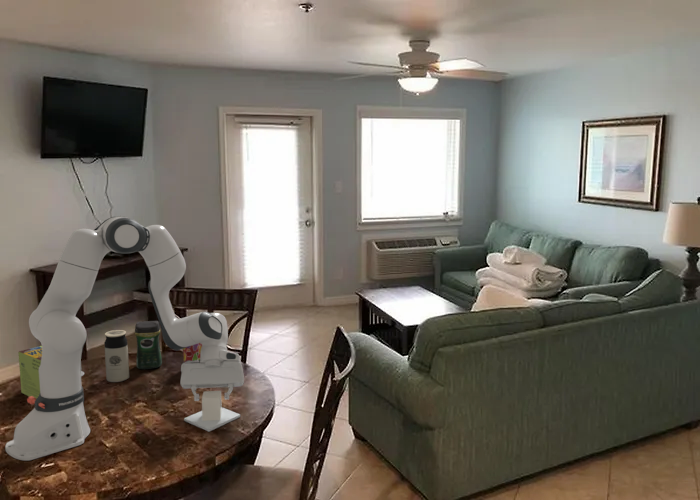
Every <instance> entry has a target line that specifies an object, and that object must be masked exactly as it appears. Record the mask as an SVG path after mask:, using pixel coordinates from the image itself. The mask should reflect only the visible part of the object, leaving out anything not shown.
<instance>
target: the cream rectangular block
mask: <svg viewBox="0 0 700 500" xmlns="http://www.w3.org/2000/svg"><path fill="white" fill-rule="evenodd" d="M222 403H223V402H222V390H210V391H209V390H207V391H203V393H202V396H201V411H202V421H210V420H221V414H222V405H223V404H222Z"/></svg>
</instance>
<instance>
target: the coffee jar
mask: <svg viewBox="0 0 700 500" xmlns="http://www.w3.org/2000/svg"><path fill="white" fill-rule="evenodd" d="M160 334H161V326H160V323H159V320H149V321H148V320H147V321H137V322H136V324H135V327H134V336H135V338H136V368H137V369H139V370H149V369H150V370H151V369H157V368H159V367H161V366H162V364H163V360H162V359H163V357H162V352H161V347H160V345H161V344H160Z"/></svg>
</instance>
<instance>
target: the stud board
mask: <svg viewBox="0 0 700 500" xmlns="http://www.w3.org/2000/svg"><path fill="white" fill-rule="evenodd" d="M239 418H241V414H240V413H238V412H235V411H233V410H230V409H227V408H225V407H222V414H221V420H210V421H202V410H200V411H198V412H196V413H193V414H190V415H189V416H187V417H184V419H183V421H184V422H186V423H189V424H191V425H193V426H195V427H197V428H199V429H202V430H205V431H207V432H211V431H214V430H215V429H218V428H220V427H222V426H224V425H226V424H228V423H230V422H233V421H235V420H237V419H239Z"/></svg>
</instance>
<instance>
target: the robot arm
mask: <svg viewBox="0 0 700 500" xmlns="http://www.w3.org/2000/svg"><path fill="white" fill-rule="evenodd" d="M109 252H114V253H117V254H124V255H125V254H133V253H139V254H140V255H141V256H142V258H143V260H144V262H145V264H146V266H147V268H148V271H149V274H150V275H149V276H150V279H149V281H148V292H149V295H150V296H149V297H150V299H151V302H152V304H153V305H152V306H153V307H154V311H155V314H156V317H157V321H158V322H159V325H160V331H161V336H162V340H163V342H164V344H165V345H166V346H167V347H168V348H170V349H172V350H173V351H181V350H183V349H184V348H186V347H188V346H191V345H195V344H198V343H200V344H202V348H201V353H200V360H193V361H190V360H188V361H186V362H184V361H183V362H182V363H181V365H180V372H181V374H180V387H182V389H186V390H187V389H188V390H189V389H191V392H192V394H193V399H194V400H193V401H195V402H196V401H197V402H199V401H200V393H197V392H196V391H197V389H204V388H205V389H207V388H208V389H210V388H211V389H212V388H228V390H227V392H224V395H223V396H224V397H223V398H224V400H230V395H231V394H232V392H233V390H234V387H242V386H244V384H245V377H244V375H245V374H244V369H243V365H242V363H241V356H240V355H239V354H238V353H235V352H232V351H228V346H227V345H228V339H229V334H228V333H229V328H228V321H227V318H226V317H225V316H224V315H223V314H221V313H220V312H208V311H200V312H198V313H193V314H191V315H188V316H185V317H181V318H178V317H177V316H176V315H175V311H174V308H173V305H172V303H171V300H170V295H169V294H170V290H171V289H172V288H173V287H174V286H176V284H178V283H179V282H180V281H181V280H182V278H183V277H184V276H185V273H186V271H187V270H186V269H187V264H186V259H185V257H184V256H183V254H182V251H181V250H180V248H179V245H178V244H177V242H176V241H175V239H174V238H173V236H172V235H171V233H170V232H169V231H168V229H166V227H164V226H163V225H161V224H152V225H147V226H146V227H145V226H143V224H141V223H139V222H138V221H137V220H135V219H132V218H130V217H127V216H121V215H120V216H119V215H118V216H111V217H109V218H107V219H105V220H104V221H102V222H101V223H100V224H99V225H98V226H97V227H95V228H94V229H90V228H80V229H79V228H78V229H75V230H74V231H73V232H72V234H71V235H70V237H69V238H68V240H67V241H66V243H65V245H64V247H63V250H62V251H61V254H60V257H59V260H58V263H57V265H56V268H55V271H54V273H53V275H52V276H53V277H52V279H51V282H50V285H49V286H48V289H47V290H46V291H45V294H44V295H43V297H42V299H41V300H40V302H39V303H38V306H37V307H36V309H34V310H33V311H32V313H31V314H30V316H29V319H28V326H29V330H30V333H31V334H32V336H33V337H34V339H35V338H36V340H38V341H39V342H40V344H41V345H40V346H42V359H41V365H40V367H39V382H40V394H39V396H38V398H37V399H36V398H34V397H33V396H30V397H29V396H28V398H26V401H27V403H28V404H30V405H34V407H33V409H31V411H30V412H29V413H28V414H27V415H26V416H25V417H24V418H22V419H21V421H20V422H18V423H17V424H16V426H15V428H14V432H13V439H12V440H9V441H7V442H6V444H5V447H4V449H5V453H7V455H8V456H10V457H12V458H14V459H16V460H20V461H25V462H27V461H32V460H33V461H34V460H36V459H39V458H43V457H46V456H49V455H52V454H54V453H58V452H61V451H65V450H69V449H71V448H75V447H79V446H81V445H82V444H83V445H84V444H85V439H86V438H87V437H88V436H89V435H90V433H91V428H90V426H89V423H88V420H87V417H86V413H85V407H84V404H85V394H84V387H83V386H82V376H81V371H82V368H81V369H80V363H82V361H81V359H82V353H83V348H84V345H85V343H86V340H87V337H88V335H87V329H86V328H85V326H84V324H83V322H82V321H81V320H80V319H79V318H78V317H77V316H76V315H77V313H78V311H79V310H80V308H81V306H82V305H83V303H84V302H85V300H87V299H88V298H89V297H90V296H91V293H92V290H93V287H94V285H95V282H96V279H97V276H98V273H99V269H100V267H101V265H102V264H101V263H102V261H103V259H104V257H105V256H106V255H107V254H108V253H109ZM185 363H186V364H185Z"/></svg>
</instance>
